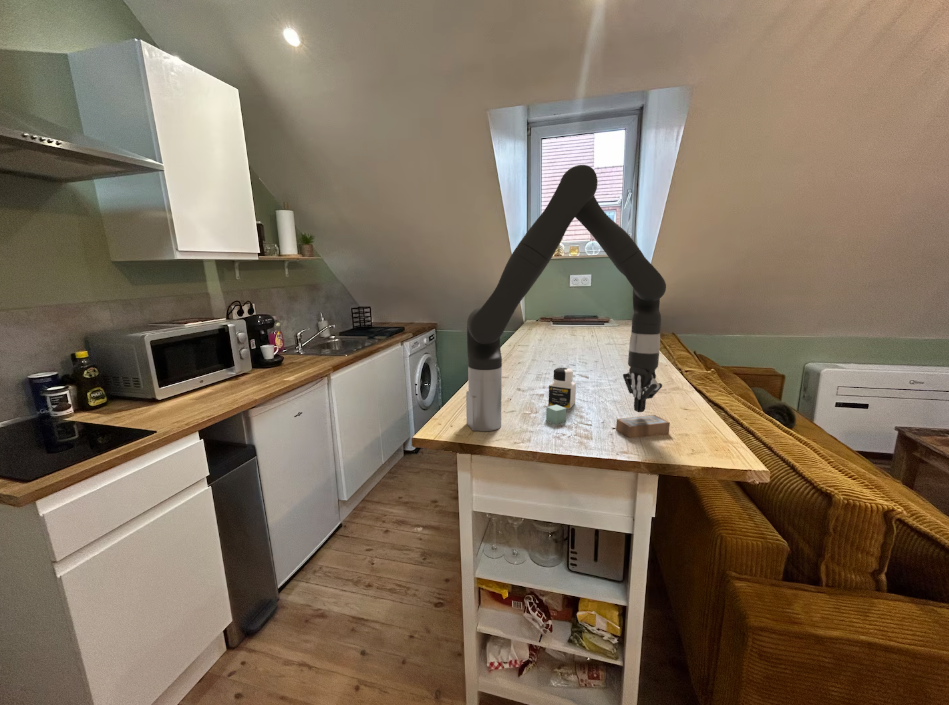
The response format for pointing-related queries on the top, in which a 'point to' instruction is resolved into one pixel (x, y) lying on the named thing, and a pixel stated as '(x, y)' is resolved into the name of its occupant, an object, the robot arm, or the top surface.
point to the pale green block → (556, 414)
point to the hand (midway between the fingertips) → (639, 411)
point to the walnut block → (642, 426)
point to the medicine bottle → (562, 388)
